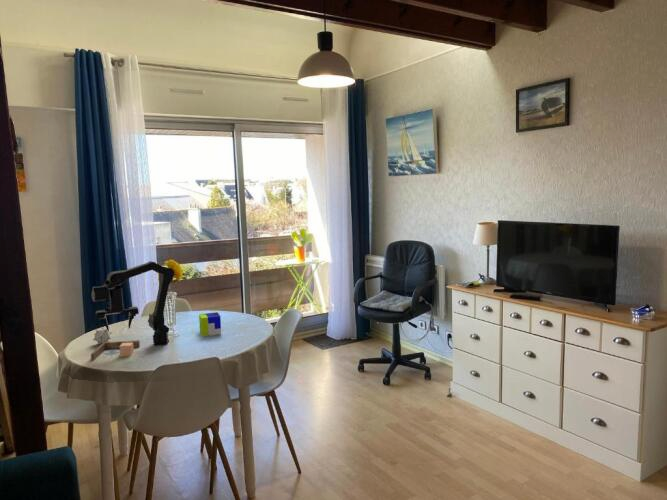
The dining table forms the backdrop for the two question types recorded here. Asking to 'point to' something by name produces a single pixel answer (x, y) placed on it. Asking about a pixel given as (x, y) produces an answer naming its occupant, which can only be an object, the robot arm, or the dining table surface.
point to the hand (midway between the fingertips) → (118, 329)
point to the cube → (126, 349)
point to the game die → (102, 336)
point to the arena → (111, 345)
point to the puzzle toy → (210, 324)
